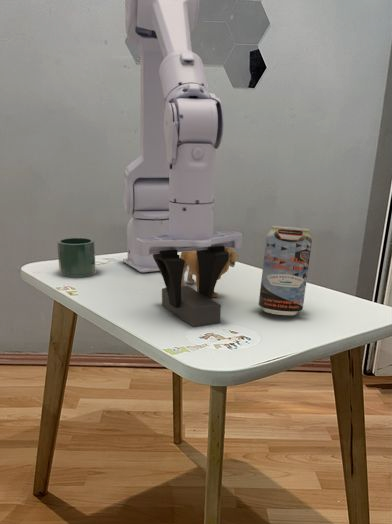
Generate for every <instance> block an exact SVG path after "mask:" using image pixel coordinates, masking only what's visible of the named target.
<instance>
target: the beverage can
mask: <svg viewBox="0 0 392 524" xmlns="http://www.w3.org/2000/svg"><path fill="white" fill-rule="evenodd" d="M312 239H313V238H312V237H311V234H310V229H309V228H299V227H291V226H279V225H272V226H271V230H269V232H268V233H267V235H266V238H265V247H264V255H263V264H262V270H261V271H262V272H261V281H260V289H259V297H258V306H259V307H261V308H262V310H263V311H264V312H265V313H268V314H272V315H279V316H295V315H297V314H298V312H301V311H303V310H304V304H305V295H306V287H307V280H308V273H309V265H310V258H311V252H312V244H313V240H312Z"/></svg>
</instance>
